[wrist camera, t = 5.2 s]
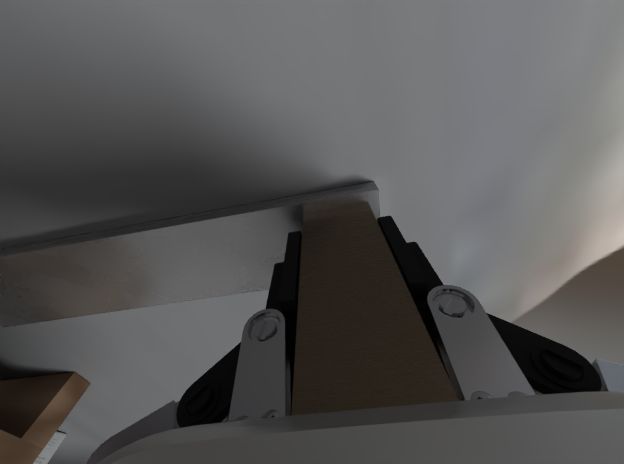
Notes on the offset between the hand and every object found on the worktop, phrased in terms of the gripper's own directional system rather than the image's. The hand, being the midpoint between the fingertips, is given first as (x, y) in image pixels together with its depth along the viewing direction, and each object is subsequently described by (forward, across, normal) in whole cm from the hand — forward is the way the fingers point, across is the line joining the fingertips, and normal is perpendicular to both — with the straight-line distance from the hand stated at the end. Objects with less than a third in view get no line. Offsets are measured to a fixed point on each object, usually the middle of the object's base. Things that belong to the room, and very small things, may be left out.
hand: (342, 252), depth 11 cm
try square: (+2, +10, 0) cm, 11 cm away
